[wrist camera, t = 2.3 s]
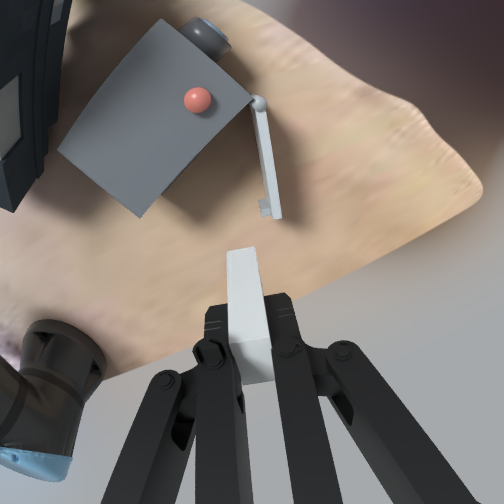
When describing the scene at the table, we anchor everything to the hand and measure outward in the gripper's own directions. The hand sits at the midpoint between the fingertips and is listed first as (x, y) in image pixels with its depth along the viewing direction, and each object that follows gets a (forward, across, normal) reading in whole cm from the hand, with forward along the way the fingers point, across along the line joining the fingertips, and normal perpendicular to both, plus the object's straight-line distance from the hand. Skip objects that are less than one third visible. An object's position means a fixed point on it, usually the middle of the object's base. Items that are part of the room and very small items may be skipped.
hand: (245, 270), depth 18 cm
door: (+18, +3, +2) cm, 18 cm away
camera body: (+18, -5, +9) cm, 20 cm away
